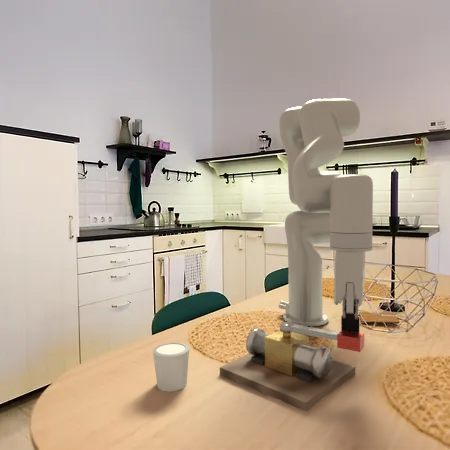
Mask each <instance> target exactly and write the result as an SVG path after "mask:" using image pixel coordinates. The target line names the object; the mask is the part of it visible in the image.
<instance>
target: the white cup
mask: <svg viewBox="0 0 450 450" xmlns="http://www.w3.org/2000/svg"><path fill="white" fill-rule="evenodd" d="M152 353H153V362H154V372H155V377H156V378H155V379H156V386H157V389H159V391H162V392H169V393H170V392H177V391H180V390H183V389H184V388H185V387H186V386H187V384H188V371H189V356H190V347H189V345H187V344H185V343H182V342H167V343H166V342H165V343H162V344H159V345H157V346H155V347H154V348H153V349H152Z"/></svg>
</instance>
